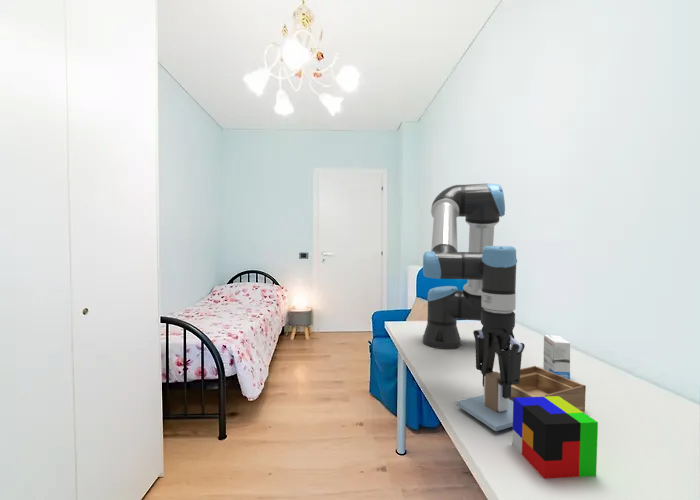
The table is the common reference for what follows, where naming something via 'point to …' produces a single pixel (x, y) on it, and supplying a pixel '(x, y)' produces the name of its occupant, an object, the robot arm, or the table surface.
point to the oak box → (548, 387)
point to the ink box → (557, 355)
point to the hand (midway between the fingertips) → (495, 405)
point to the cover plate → (487, 413)
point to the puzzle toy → (555, 437)
